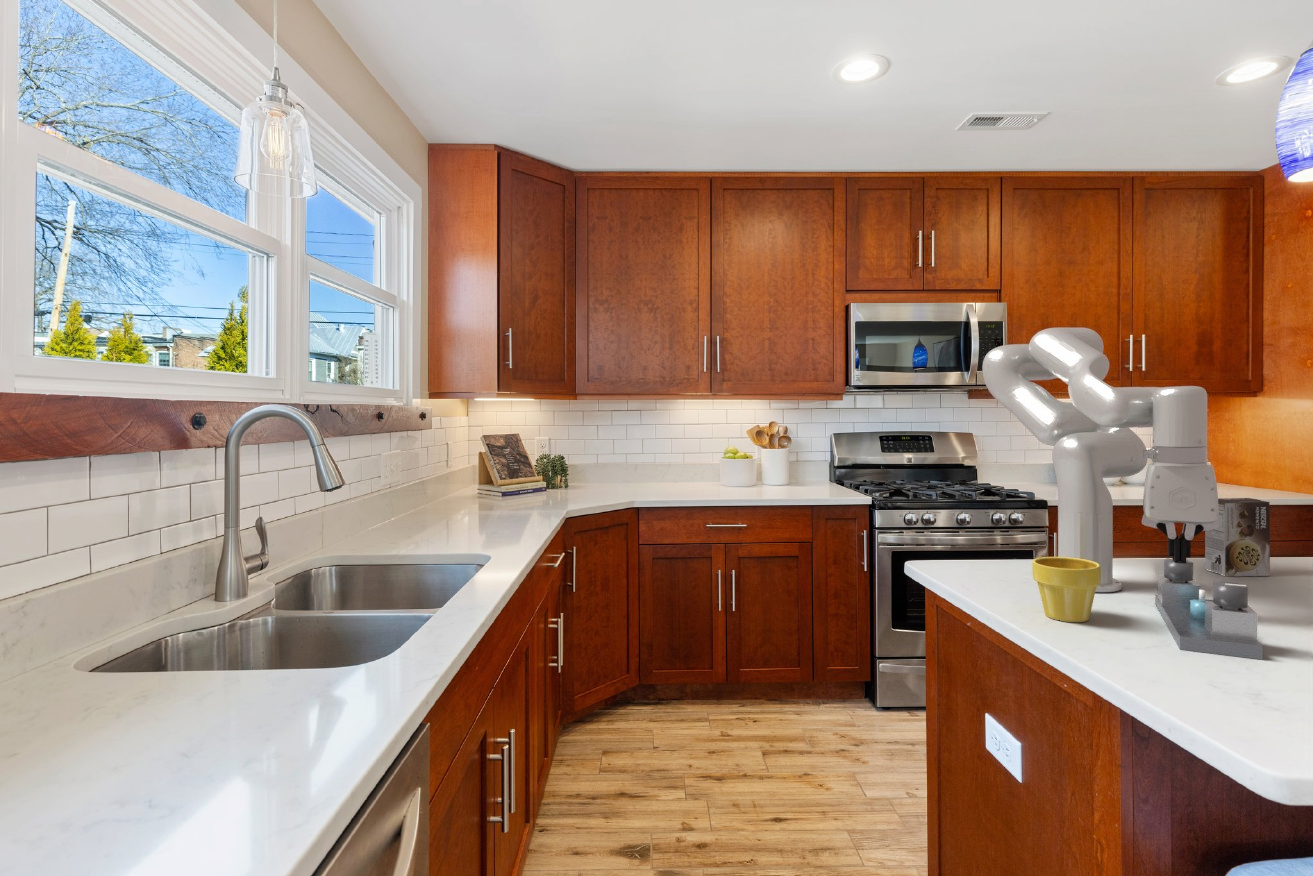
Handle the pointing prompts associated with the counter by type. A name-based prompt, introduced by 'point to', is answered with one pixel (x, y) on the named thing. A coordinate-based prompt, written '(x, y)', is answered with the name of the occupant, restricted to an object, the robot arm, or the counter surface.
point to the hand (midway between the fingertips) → (1179, 560)
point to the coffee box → (1240, 538)
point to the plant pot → (1066, 586)
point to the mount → (1207, 622)
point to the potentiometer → (1198, 606)
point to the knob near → (1230, 595)
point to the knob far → (1178, 570)
